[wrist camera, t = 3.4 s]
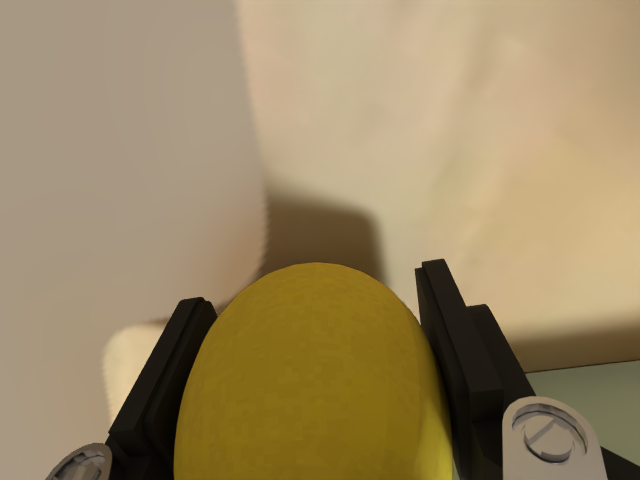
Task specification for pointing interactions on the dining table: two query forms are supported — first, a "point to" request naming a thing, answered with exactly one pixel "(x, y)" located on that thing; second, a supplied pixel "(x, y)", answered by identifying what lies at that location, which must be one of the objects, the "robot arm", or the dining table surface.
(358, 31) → the dining table surface
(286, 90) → the dining table surface
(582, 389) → the tray
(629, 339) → the dining table surface
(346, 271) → the lemon
